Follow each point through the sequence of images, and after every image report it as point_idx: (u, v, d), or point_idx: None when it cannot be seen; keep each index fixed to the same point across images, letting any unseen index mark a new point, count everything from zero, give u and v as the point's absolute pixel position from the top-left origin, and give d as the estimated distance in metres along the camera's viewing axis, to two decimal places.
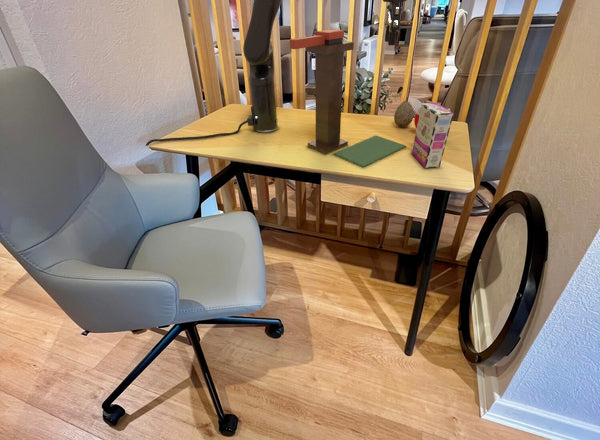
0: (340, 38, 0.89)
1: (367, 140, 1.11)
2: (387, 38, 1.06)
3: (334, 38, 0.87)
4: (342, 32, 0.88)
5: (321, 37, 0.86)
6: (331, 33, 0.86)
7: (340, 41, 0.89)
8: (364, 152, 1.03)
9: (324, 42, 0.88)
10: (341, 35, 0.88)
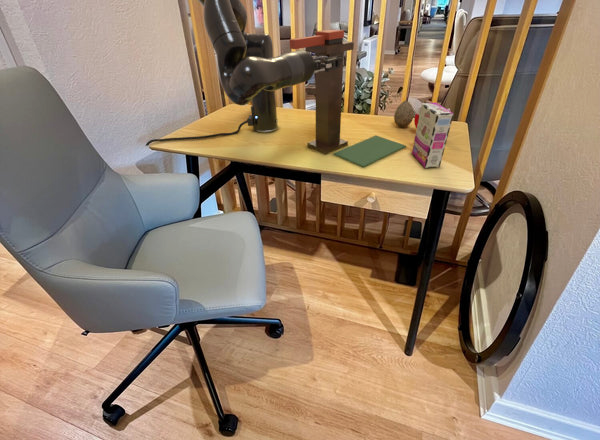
0: (340, 38, 0.89)
1: (367, 140, 1.11)
2: None
3: (334, 38, 0.87)
4: (342, 32, 0.88)
5: (321, 37, 0.86)
6: (331, 33, 0.86)
7: (340, 41, 0.89)
8: (364, 152, 1.03)
9: (324, 42, 0.88)
10: (341, 35, 0.88)
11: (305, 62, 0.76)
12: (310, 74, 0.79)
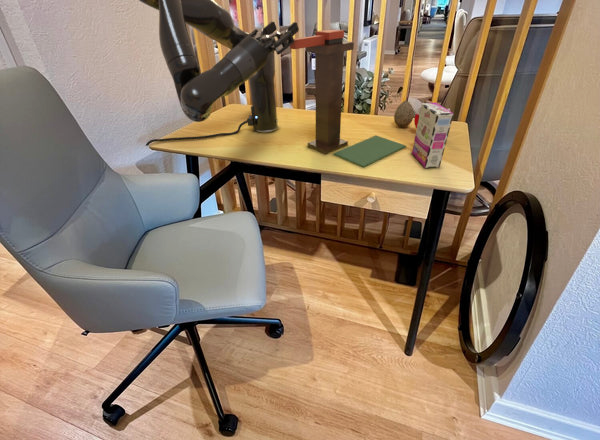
0: (340, 38, 0.89)
1: (367, 140, 1.11)
2: None
3: (334, 38, 0.87)
4: (342, 32, 0.88)
5: (321, 37, 0.86)
6: (331, 33, 0.86)
7: (340, 41, 0.89)
8: (364, 152, 1.03)
9: (324, 42, 0.88)
10: (341, 35, 0.88)
11: (253, 54, 0.74)
12: (263, 61, 0.77)
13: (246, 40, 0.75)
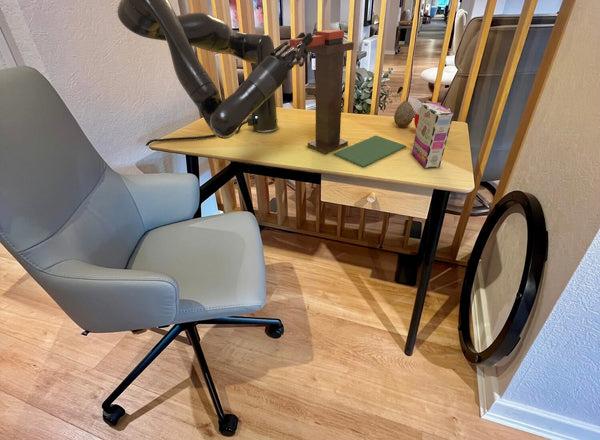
0: (341, 38, 0.89)
1: (367, 140, 1.11)
2: None
3: (334, 38, 0.87)
4: (342, 32, 0.88)
5: (321, 37, 0.86)
6: (331, 33, 0.86)
7: (340, 41, 0.89)
8: (364, 152, 1.03)
9: (324, 42, 0.88)
10: (341, 35, 0.88)
11: (273, 73, 0.79)
12: (284, 78, 0.82)
13: (267, 60, 0.79)
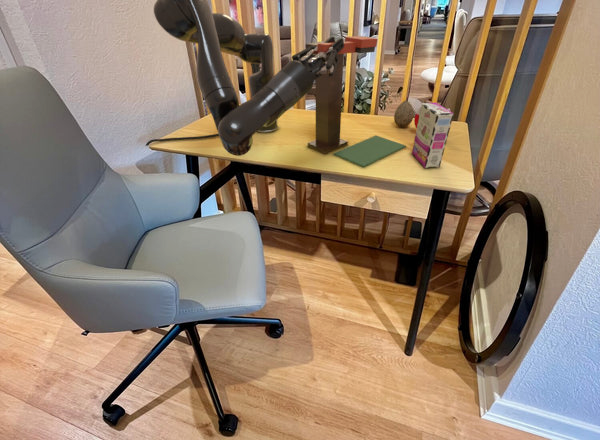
0: (373, 47, 0.78)
1: (367, 140, 1.11)
2: None
3: (366, 46, 0.76)
4: (375, 40, 0.77)
5: (352, 44, 0.75)
6: (364, 40, 0.75)
7: (372, 50, 0.79)
8: (364, 152, 1.03)
9: (355, 50, 0.77)
10: (374, 44, 0.78)
11: (298, 81, 0.67)
12: (309, 88, 0.70)
13: (291, 65, 0.67)
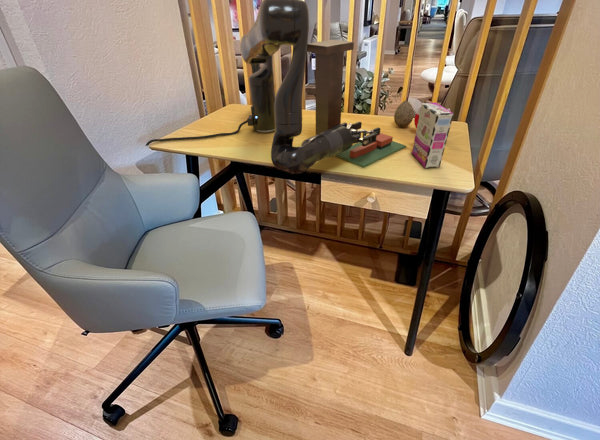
0: (389, 142, 1.06)
1: None
2: None
3: (385, 144, 1.04)
4: (391, 138, 1.05)
5: (374, 144, 1.03)
6: (383, 141, 1.02)
7: (389, 145, 1.06)
8: None
9: (376, 147, 1.04)
10: (390, 140, 1.05)
11: (344, 139, 0.88)
12: (348, 147, 0.91)
13: (341, 128, 0.90)
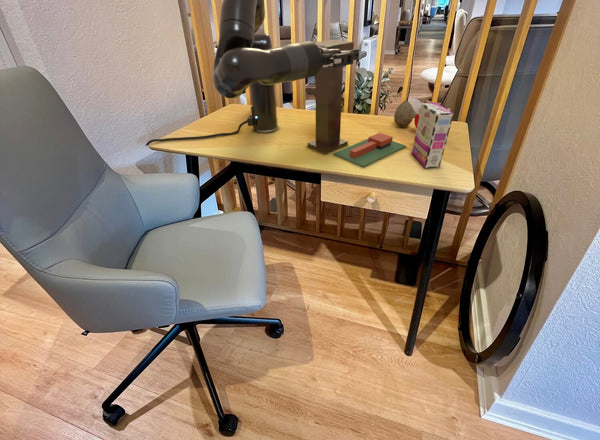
0: (389, 142, 1.06)
1: (367, 140, 1.11)
2: None
3: (385, 144, 1.04)
4: (391, 138, 1.05)
5: (374, 144, 1.03)
6: (383, 141, 1.02)
7: (389, 145, 1.06)
8: None
9: (376, 147, 1.04)
10: (390, 140, 1.05)
11: (310, 55, 0.68)
12: (316, 69, 0.71)
13: (306, 42, 0.69)
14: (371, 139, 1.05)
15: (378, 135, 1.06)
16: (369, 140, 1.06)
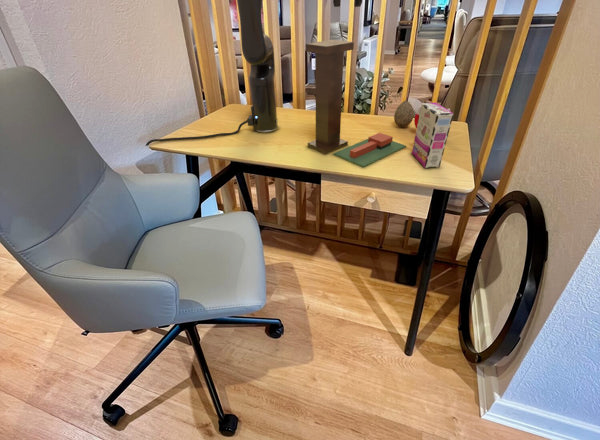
0: (389, 142, 1.06)
1: (367, 140, 1.11)
2: None
3: (385, 144, 1.04)
4: (391, 138, 1.05)
5: (374, 144, 1.03)
6: (383, 141, 1.02)
7: (389, 145, 1.06)
8: None
9: (376, 147, 1.04)
10: (390, 140, 1.05)
11: None
12: None
13: None
14: (371, 139, 1.05)
15: (378, 135, 1.06)
16: (369, 140, 1.06)
